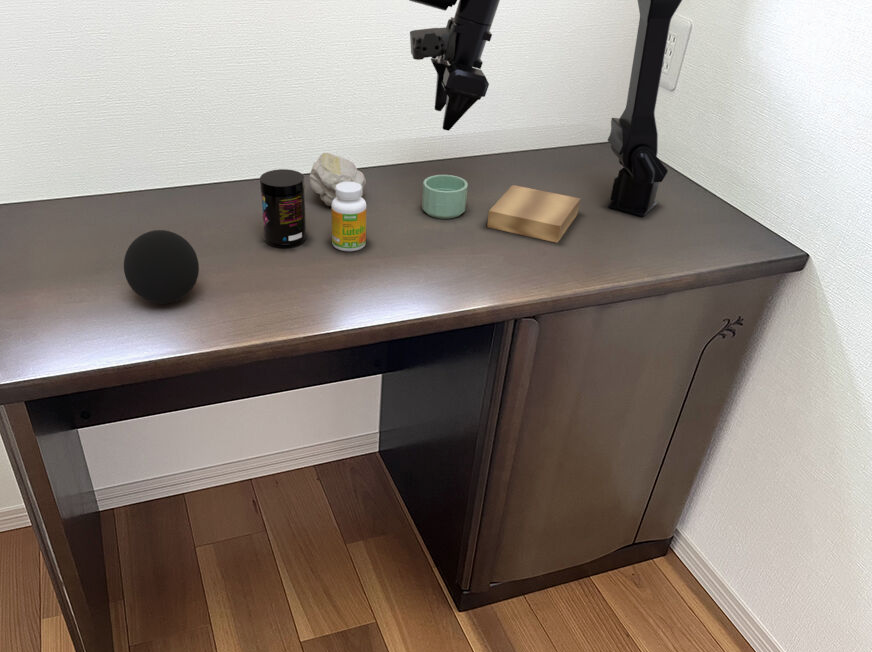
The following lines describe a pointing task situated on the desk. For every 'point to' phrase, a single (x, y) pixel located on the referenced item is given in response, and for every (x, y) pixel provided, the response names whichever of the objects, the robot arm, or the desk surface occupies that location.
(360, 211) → the supplement bottle
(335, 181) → the fossil replica
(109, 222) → the desk surface
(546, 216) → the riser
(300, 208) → the supplement container
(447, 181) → the bowl
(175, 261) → the decorative ball
